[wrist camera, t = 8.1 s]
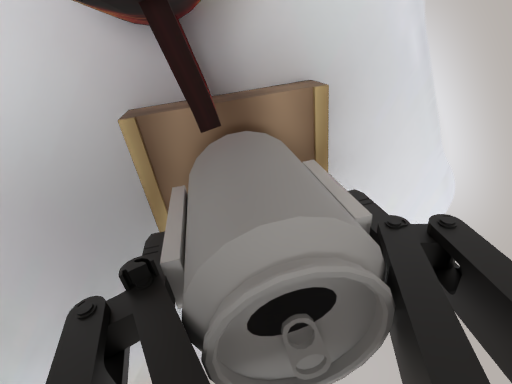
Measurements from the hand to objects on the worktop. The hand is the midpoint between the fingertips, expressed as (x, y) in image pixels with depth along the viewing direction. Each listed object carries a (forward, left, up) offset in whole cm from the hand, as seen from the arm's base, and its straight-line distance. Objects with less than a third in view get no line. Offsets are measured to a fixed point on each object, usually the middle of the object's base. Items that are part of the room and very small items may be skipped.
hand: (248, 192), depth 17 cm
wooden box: (0, 0, -7) cm, 7 cm away
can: (0, 0, -2) cm, 2 cm away
